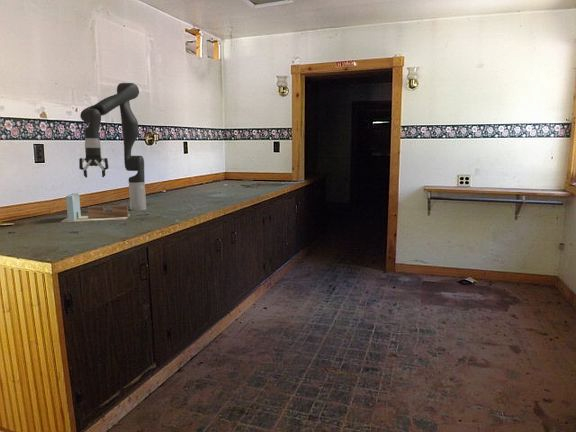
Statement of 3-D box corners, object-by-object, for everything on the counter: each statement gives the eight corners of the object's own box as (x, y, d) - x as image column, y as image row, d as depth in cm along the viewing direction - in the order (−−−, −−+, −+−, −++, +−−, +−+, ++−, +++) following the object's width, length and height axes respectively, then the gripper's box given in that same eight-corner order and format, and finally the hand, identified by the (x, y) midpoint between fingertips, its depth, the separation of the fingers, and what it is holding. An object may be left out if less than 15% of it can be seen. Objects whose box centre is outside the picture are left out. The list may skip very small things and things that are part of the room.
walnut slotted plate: (89, 217, 232) (88, 206, 231) (128, 216, 236) (127, 205, 235) (88, 218, 230) (87, 207, 229) (127, 216, 234) (127, 206, 233)
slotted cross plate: (75, 216, 236) (72, 193, 233) (80, 216, 236) (78, 192, 234) (68, 221, 222) (65, 196, 220) (74, 220, 223) (72, 196, 221)
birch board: (68, 218, 236) (68, 216, 236) (130, 215, 243) (130, 214, 243) (60, 223, 221) (60, 221, 220) (126, 220, 228) (126, 219, 227)
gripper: (108, 147, 236) (109, 176, 238) (79, 147, 232) (81, 177, 235) (105, 147, 229) (107, 177, 231) (76, 147, 225) (78, 178, 227)
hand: (94, 177), depth 233 cm, fingers open, 8 cm apart
